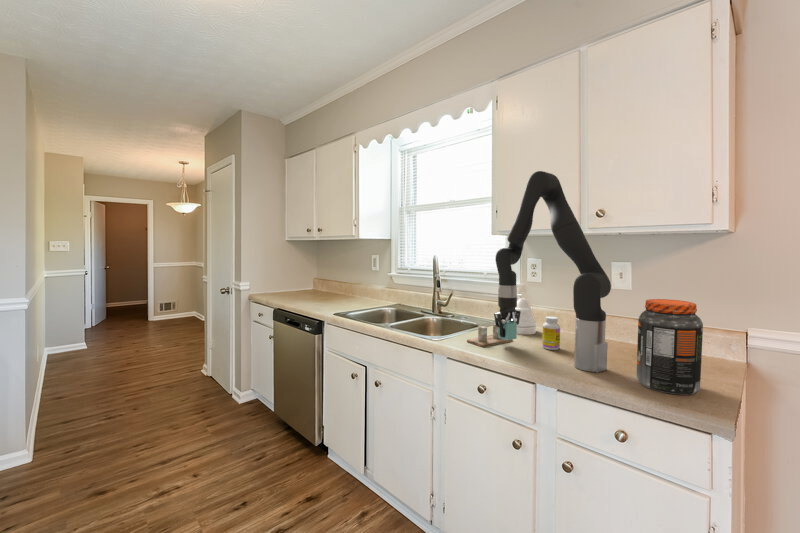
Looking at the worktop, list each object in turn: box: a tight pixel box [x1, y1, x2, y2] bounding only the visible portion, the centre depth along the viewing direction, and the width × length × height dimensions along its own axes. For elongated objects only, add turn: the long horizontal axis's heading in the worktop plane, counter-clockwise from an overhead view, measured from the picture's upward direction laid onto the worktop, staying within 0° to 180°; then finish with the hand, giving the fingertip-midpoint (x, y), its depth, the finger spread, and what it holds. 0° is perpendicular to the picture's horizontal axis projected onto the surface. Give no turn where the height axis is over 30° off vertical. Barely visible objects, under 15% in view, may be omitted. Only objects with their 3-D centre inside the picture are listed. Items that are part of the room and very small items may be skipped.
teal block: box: [498, 321, 518, 340], centre depth 154 cm, size 5×5×7 cm
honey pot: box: [515, 293, 537, 335], centre depth 181 cm, size 13×13×18 cm
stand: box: [466, 323, 514, 348], centre depth 162 cm, size 10×18×7 cm, turn 123°
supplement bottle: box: [541, 315, 561, 351], centre depth 152 cm, size 7×7×13 cm
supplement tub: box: [636, 298, 704, 396], centre depth 111 cm, size 16×16×26 cm
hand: (507, 335), depth 154 cm, fingers closed on teal block, 5 cm apart
